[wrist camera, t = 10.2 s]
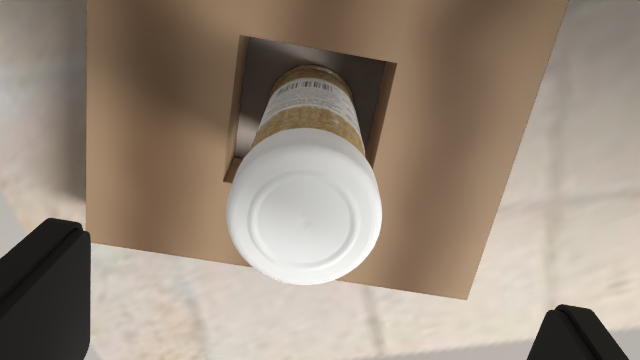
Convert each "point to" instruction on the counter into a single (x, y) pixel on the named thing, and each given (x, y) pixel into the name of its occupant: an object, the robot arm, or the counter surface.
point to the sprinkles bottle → (306, 184)
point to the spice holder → (385, 135)
